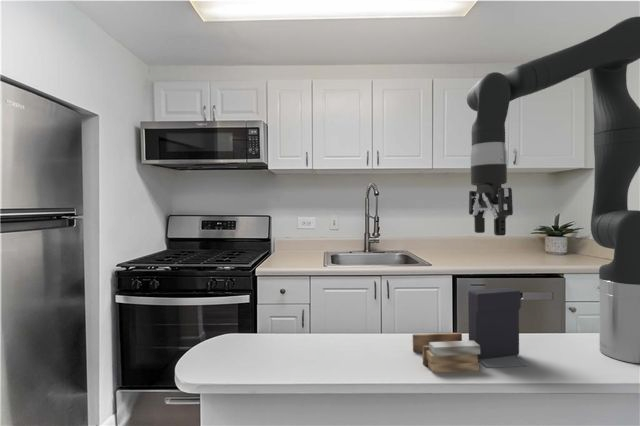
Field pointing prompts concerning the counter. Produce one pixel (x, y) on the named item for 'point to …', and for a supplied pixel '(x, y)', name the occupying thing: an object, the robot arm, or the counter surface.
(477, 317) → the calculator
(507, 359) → the slate mat
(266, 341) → the counter surface
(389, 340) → the counter surface
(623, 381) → the counter surface
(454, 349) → the offcut stack
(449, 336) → the rack
